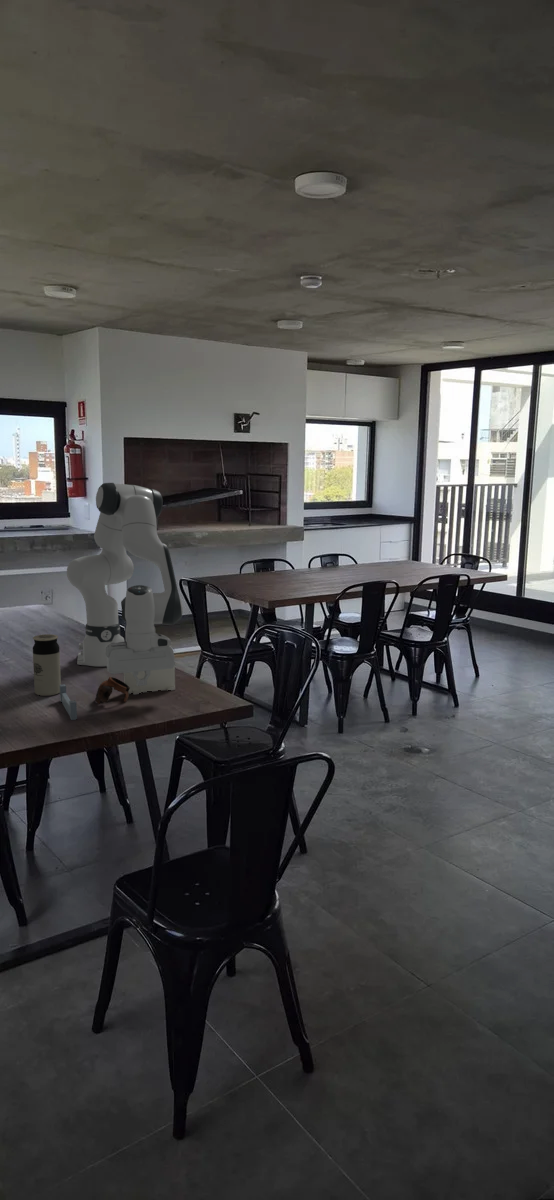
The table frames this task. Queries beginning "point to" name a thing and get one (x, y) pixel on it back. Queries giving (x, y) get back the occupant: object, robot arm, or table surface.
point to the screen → (152, 681)
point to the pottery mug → (106, 689)
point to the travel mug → (46, 665)
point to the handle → (68, 703)
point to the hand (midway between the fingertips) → (141, 685)
